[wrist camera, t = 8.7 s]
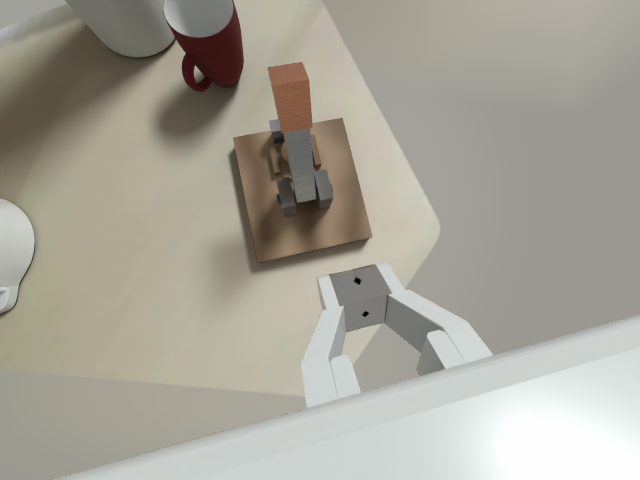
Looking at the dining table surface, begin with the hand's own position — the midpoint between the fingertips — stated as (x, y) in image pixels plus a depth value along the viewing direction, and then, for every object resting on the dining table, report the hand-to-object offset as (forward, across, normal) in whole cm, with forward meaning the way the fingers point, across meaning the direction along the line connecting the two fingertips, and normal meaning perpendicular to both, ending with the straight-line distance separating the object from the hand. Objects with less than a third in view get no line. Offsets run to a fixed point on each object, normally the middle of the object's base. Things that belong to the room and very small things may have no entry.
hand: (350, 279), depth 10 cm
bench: (+26, -1, +9) cm, 28 cm away
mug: (+40, +8, -4) cm, 41 cm away
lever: (+21, 0, +7) cm, 22 cm away
